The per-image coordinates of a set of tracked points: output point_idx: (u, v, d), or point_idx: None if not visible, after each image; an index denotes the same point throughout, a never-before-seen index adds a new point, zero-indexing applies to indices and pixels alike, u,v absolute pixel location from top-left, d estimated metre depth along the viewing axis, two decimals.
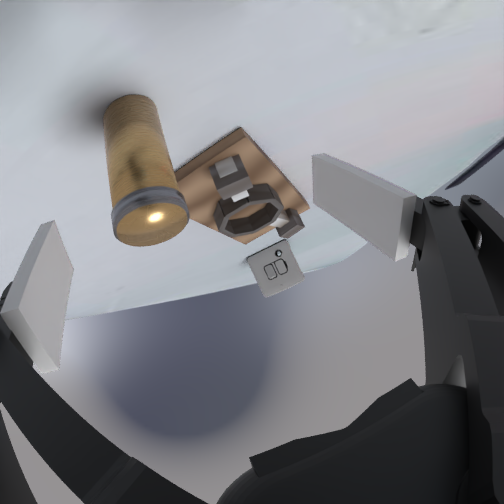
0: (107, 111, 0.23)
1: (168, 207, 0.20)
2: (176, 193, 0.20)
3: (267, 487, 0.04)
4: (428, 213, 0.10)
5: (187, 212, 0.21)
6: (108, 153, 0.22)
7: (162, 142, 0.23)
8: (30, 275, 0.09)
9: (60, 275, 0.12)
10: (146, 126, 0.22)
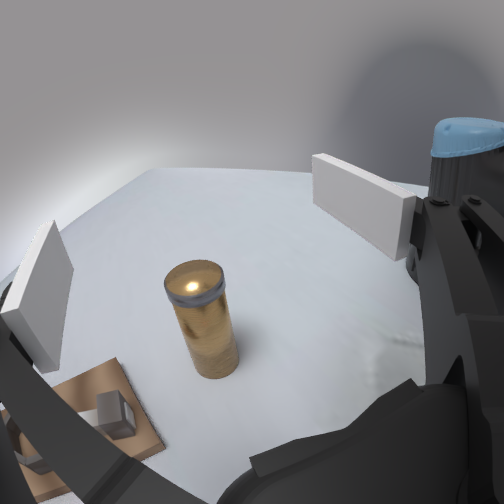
0: None
1: (212, 283, 0.27)
2: (211, 298, 0.27)
3: (267, 487, 0.04)
4: (428, 213, 0.10)
5: (194, 295, 0.26)
6: None
7: (218, 341, 0.29)
8: (30, 275, 0.09)
9: (60, 275, 0.12)
10: (229, 342, 0.31)
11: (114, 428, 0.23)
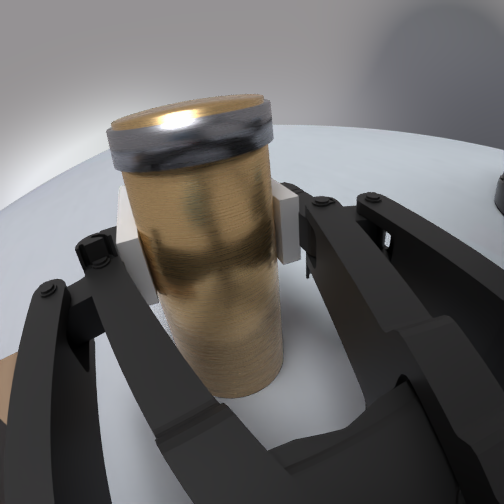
0: None
1: (243, 100, 0.08)
2: (240, 141, 0.08)
3: None
4: (315, 218, 0.10)
5: (184, 120, 0.07)
6: None
7: (248, 299, 0.11)
8: None
9: None
10: (274, 307, 0.12)
11: None
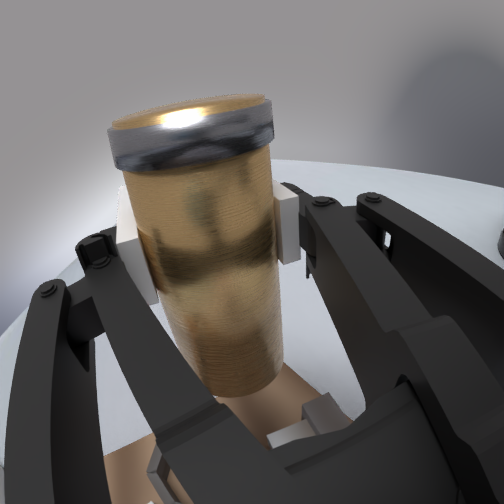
0: None
1: (244, 100, 0.08)
2: (241, 140, 0.08)
3: None
4: (315, 218, 0.10)
5: (185, 119, 0.07)
6: None
7: (249, 299, 0.11)
8: None
9: None
10: (274, 306, 0.12)
11: None
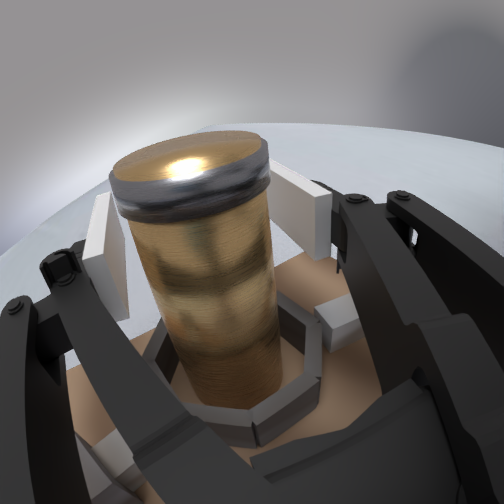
0: None
1: (240, 149, 0.09)
2: (238, 192, 0.09)
3: None
4: (347, 214, 0.10)
5: (184, 176, 0.08)
6: None
7: (248, 330, 0.12)
8: (105, 230, 0.11)
9: (119, 239, 0.14)
10: (273, 333, 0.13)
11: None
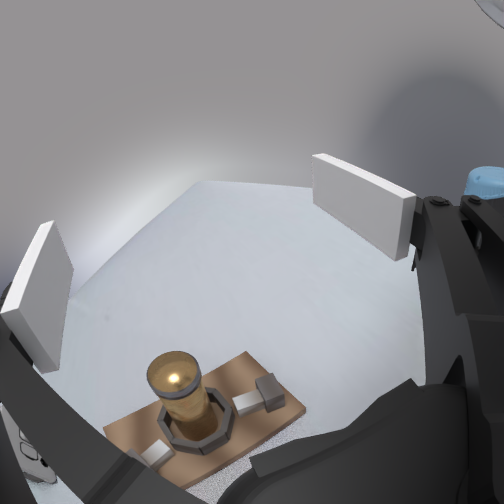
0: None
1: (188, 381, 0.28)
2: (188, 393, 0.28)
3: (267, 487, 0.04)
4: (428, 213, 0.10)
5: (172, 392, 0.27)
6: None
7: (196, 419, 0.31)
8: (30, 275, 0.09)
9: (60, 275, 0.12)
10: (207, 417, 0.32)
11: (275, 401, 0.35)
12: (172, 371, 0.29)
